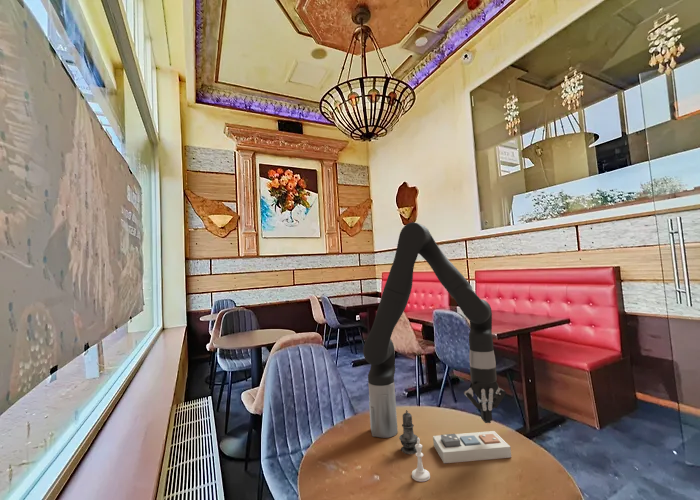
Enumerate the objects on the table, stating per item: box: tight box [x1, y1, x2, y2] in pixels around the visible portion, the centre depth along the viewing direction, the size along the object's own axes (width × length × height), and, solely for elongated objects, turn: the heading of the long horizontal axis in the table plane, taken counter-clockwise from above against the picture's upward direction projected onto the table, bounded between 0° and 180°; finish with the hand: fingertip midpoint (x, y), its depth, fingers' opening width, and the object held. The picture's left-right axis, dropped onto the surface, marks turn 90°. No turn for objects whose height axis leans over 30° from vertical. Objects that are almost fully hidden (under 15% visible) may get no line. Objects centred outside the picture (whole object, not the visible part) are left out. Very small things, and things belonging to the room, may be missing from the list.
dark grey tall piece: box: [399, 410, 419, 455], centre depth 105 cm, size 6×6×12 cm
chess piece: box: [411, 437, 431, 482], centre depth 91 cm, size 5×5×10 cm
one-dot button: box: [460, 435, 480, 446], centre depth 102 cm, size 4×4×3 cm
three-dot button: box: [440, 433, 460, 448], centre depth 101 cm, size 4×4×3 cm
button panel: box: [432, 430, 512, 464], centre depth 102 cm, size 20×10×3 cm, turn 93°
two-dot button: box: [479, 434, 500, 444], centre depth 102 cm, size 4×4×3 cm
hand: (486, 421), depth 102 cm, fingers closed
